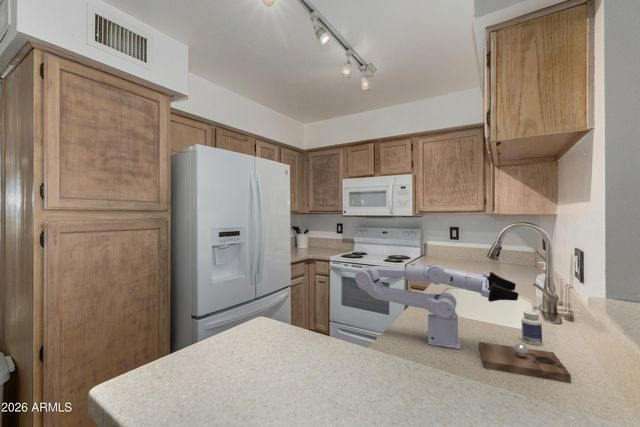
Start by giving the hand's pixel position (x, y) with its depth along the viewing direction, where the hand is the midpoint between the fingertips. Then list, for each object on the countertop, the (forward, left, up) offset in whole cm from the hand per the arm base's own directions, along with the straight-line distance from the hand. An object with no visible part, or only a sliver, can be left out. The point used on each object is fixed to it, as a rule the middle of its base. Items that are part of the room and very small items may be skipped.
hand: (516, 291), depth 85 cm
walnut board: (-1, -5, -19) cm, 20 cm away
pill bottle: (+6, +13, -19) cm, 24 cm away
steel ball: (0, -5, -15) cm, 16 cm away
